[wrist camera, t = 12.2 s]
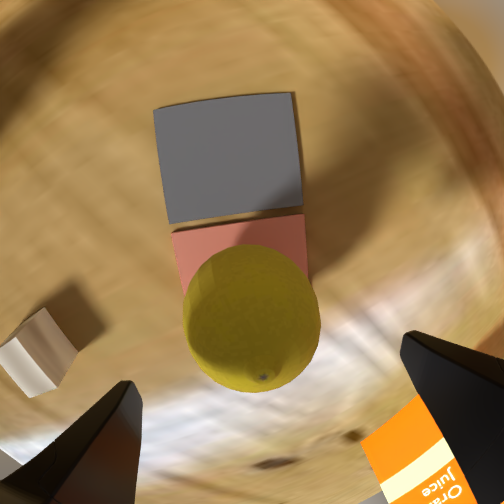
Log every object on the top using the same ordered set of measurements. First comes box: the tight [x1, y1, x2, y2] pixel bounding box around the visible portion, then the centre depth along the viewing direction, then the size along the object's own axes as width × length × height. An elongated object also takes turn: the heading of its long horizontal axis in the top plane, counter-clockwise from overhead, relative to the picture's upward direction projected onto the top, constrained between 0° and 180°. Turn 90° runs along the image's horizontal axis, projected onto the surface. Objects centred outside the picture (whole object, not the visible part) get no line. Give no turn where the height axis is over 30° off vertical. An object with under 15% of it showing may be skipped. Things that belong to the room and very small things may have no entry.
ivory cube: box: [0, 307, 78, 398], centre depth 14 cm, size 4×4×4 cm
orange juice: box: [360, 394, 504, 504], centre depth 14 cm, size 8×9×20 cm
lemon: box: [183, 244, 321, 393], centre depth 12 cm, size 6×6×8 cm
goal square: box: [171, 213, 308, 296], centre depth 16 cm, size 7×6×1 cm
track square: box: [153, 93, 303, 224], centre depth 14 cm, size 7×6×1 cm
